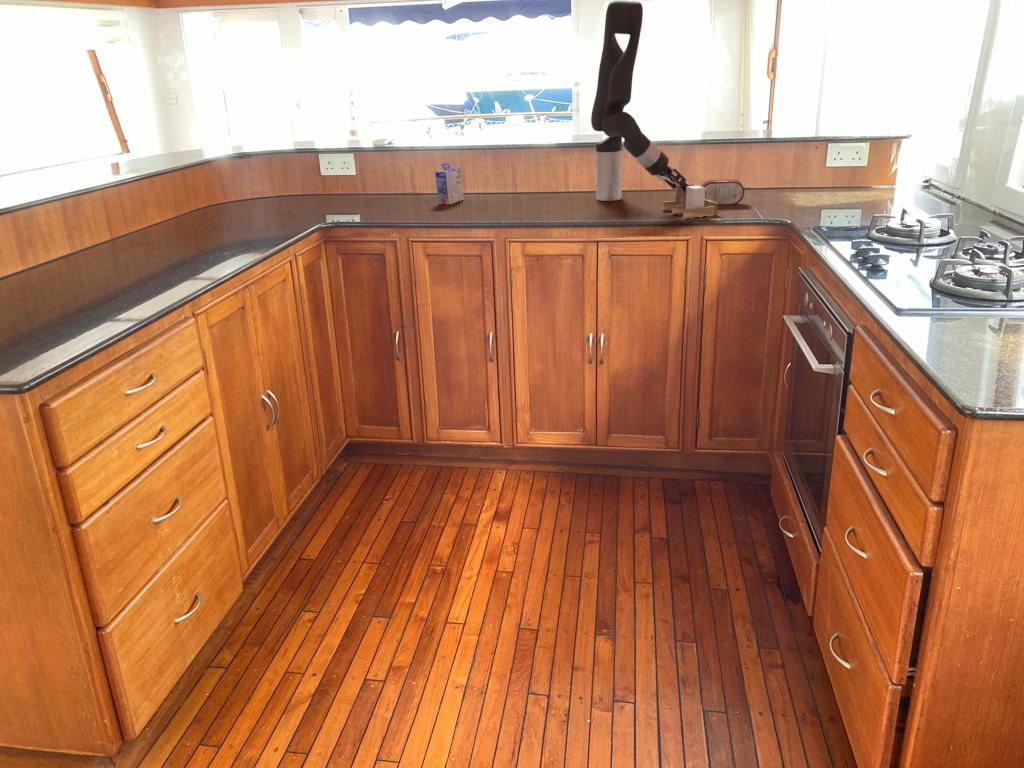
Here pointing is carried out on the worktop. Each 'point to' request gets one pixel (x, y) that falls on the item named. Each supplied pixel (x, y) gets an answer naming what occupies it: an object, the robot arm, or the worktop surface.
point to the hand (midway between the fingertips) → (682, 188)
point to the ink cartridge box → (449, 185)
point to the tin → (724, 191)
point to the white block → (695, 197)
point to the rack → (692, 209)
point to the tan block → (681, 195)
